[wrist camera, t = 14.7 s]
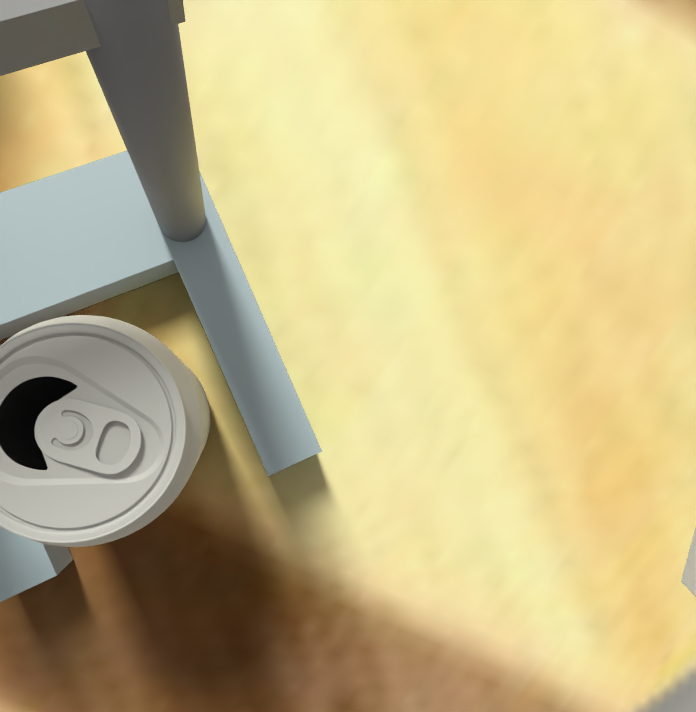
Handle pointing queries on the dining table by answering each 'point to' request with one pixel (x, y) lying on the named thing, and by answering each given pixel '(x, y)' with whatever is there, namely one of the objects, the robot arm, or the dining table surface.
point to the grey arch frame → (132, 226)
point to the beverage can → (94, 430)
